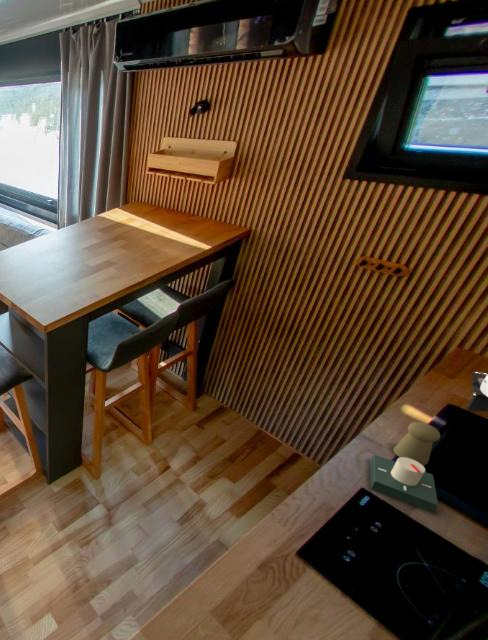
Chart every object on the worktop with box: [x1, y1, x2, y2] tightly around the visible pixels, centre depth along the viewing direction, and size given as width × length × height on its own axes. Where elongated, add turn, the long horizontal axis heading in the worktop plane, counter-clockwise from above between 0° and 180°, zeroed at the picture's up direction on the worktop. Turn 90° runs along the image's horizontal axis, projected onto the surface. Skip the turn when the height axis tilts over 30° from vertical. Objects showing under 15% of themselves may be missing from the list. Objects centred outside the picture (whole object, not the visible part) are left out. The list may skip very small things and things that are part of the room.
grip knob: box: [391, 457, 426, 486], centre depth 90 cm, size 4×4×5 cm
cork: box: [393, 421, 441, 466], centre depth 96 cm, size 6×6×11 cm
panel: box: [369, 454, 439, 513], centre depth 92 cm, size 10×10×3 cm
